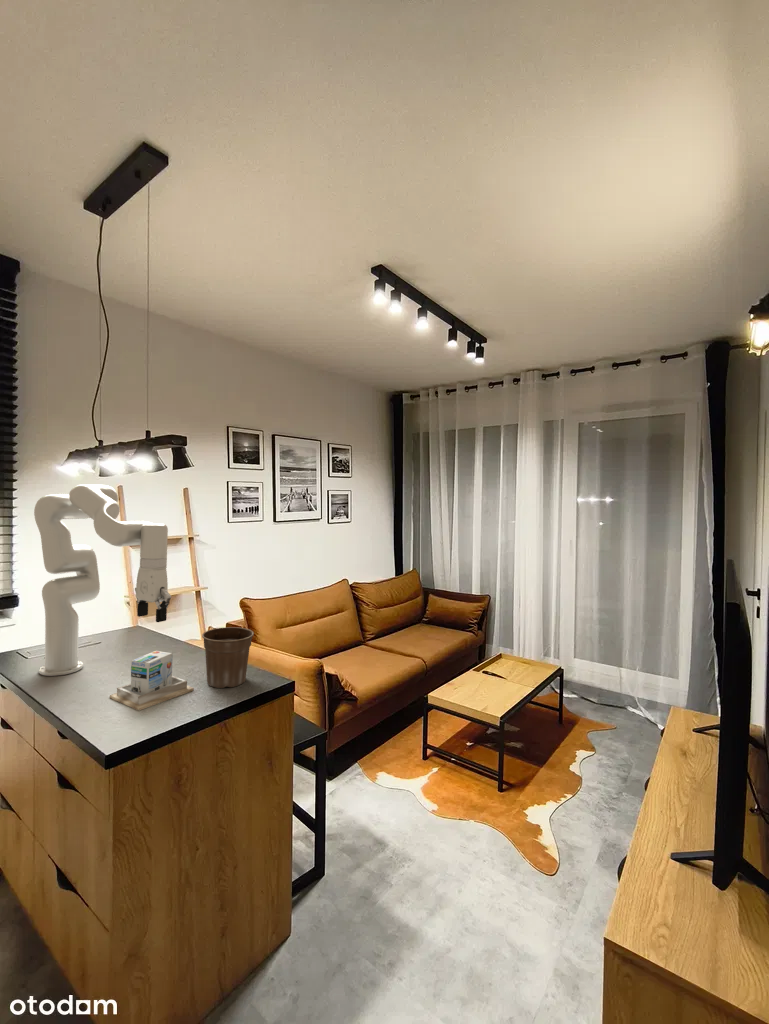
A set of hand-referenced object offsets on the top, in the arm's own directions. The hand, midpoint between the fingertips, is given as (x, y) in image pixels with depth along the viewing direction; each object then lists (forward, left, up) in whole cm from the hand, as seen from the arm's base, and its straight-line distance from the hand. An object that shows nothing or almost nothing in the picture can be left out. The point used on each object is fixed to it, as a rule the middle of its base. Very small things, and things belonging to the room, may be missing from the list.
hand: (151, 618), depth 150 cm
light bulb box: (+2, -1, -22) cm, 22 cm away
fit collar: (+3, -1, -23) cm, 23 cm away
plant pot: (+13, +19, -23) cm, 32 cm away
